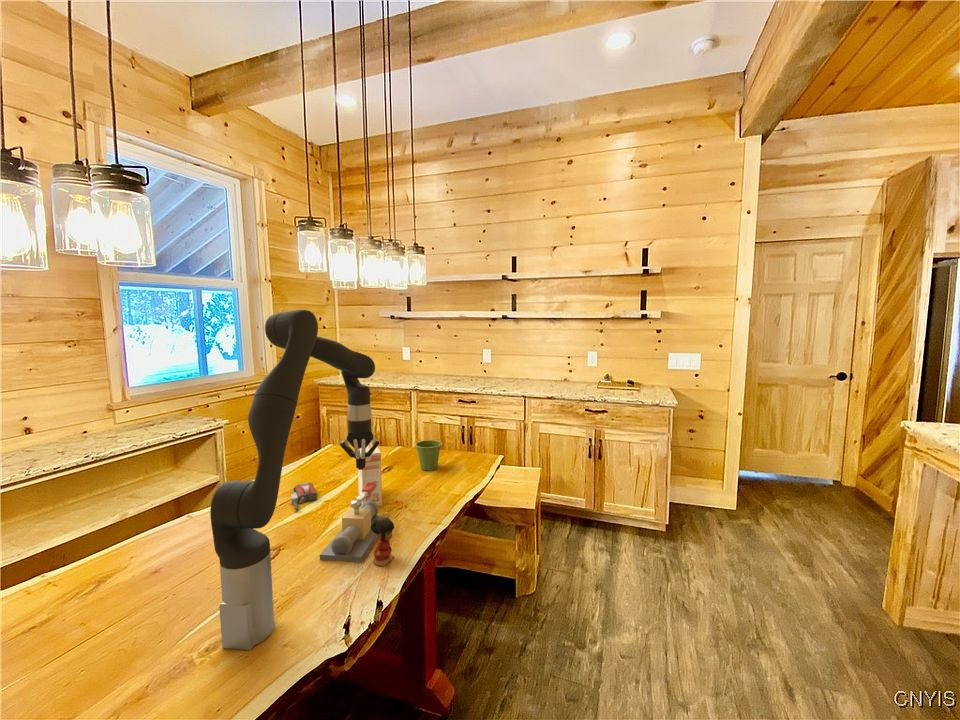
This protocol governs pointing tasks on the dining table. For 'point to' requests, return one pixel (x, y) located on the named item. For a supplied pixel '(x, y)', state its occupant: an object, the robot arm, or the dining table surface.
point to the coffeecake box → (371, 476)
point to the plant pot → (428, 453)
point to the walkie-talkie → (303, 494)
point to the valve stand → (354, 535)
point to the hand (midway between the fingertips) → (361, 468)
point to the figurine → (382, 541)
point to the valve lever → (363, 494)
